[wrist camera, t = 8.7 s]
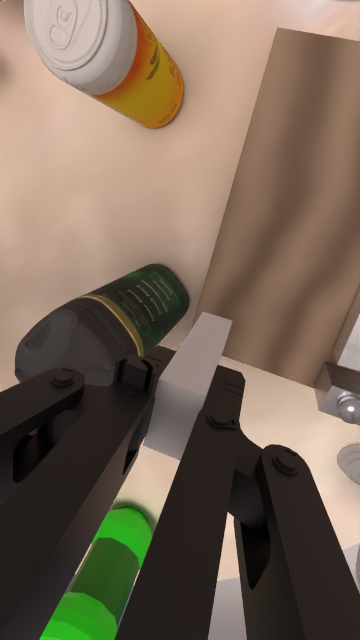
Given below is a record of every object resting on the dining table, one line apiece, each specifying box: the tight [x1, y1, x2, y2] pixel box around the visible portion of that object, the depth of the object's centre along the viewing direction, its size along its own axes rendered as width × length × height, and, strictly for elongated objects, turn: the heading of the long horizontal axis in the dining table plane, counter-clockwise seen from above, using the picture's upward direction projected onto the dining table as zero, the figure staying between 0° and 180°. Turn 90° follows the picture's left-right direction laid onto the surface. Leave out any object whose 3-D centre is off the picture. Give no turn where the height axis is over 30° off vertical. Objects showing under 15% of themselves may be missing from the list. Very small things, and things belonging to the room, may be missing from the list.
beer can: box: [24, 0, 183, 128], centre depth 25 cm, size 6×6×15 cm
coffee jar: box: [15, 264, 189, 386], centre depth 31 cm, size 10×8×19 cm
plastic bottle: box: [39, 508, 152, 640], centre depth 43 cm, size 10×10×25 cm
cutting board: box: [192, 28, 360, 388], centre depth 31 cm, size 22×30×2 cm
